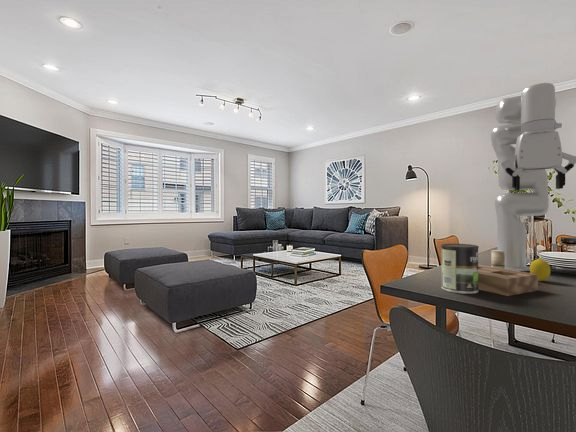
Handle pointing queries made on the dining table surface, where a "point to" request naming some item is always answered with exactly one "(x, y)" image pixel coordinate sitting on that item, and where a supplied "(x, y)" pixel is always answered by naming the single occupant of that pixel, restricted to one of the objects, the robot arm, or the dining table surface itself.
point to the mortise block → (506, 281)
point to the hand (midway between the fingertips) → (537, 189)
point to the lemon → (540, 269)
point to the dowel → (498, 259)
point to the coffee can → (460, 268)
